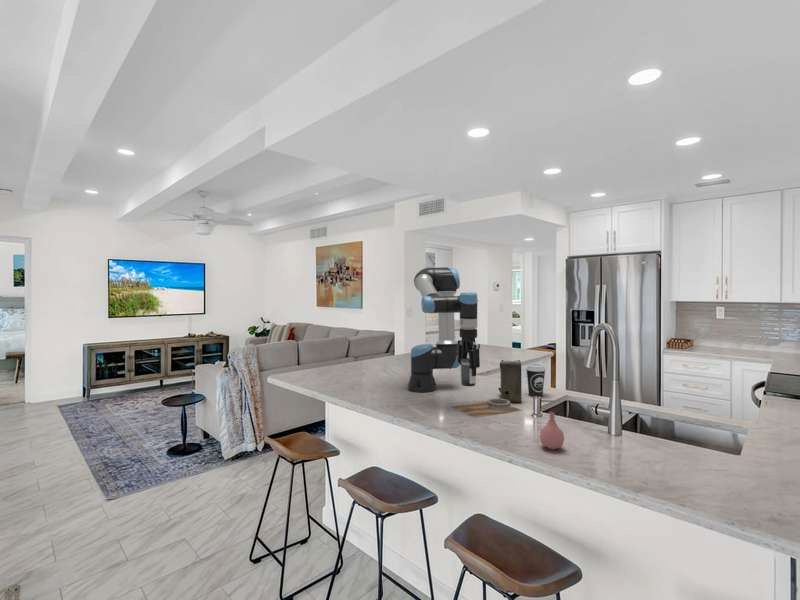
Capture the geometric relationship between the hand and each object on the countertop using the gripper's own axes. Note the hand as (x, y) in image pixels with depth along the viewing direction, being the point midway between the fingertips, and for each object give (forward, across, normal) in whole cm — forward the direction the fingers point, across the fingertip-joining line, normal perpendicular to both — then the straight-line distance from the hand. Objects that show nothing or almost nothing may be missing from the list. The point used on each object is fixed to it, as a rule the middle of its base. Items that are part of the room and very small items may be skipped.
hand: (468, 381), depth 181 cm
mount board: (+13, +4, +7) cm, 15 cm away
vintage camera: (+14, -8, +29) cm, 33 cm away
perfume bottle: (+12, +47, +2) cm, 48 cm away
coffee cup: (+14, -7, +45) cm, 47 cm away
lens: (+1, 0, 0) cm, 1 cm away
